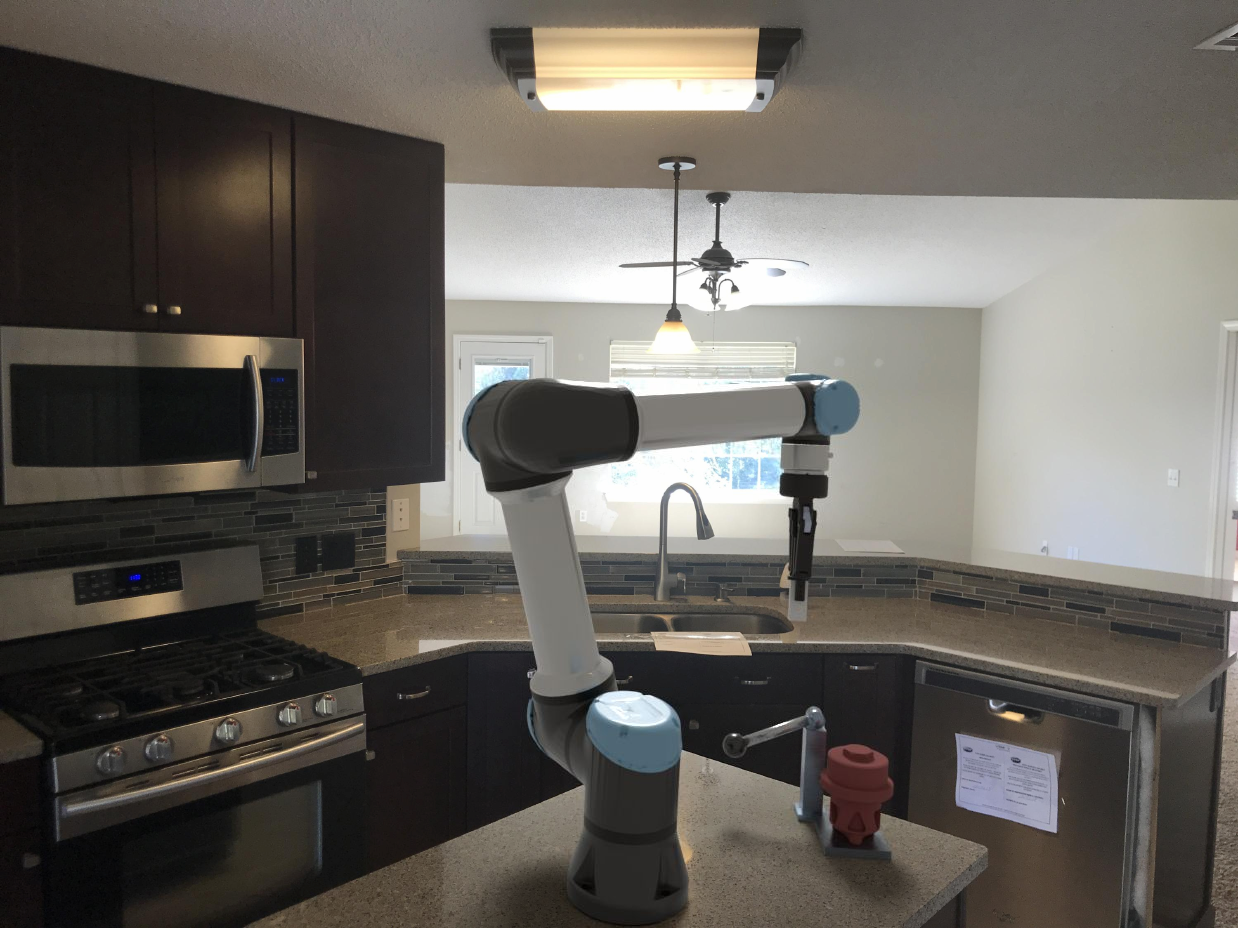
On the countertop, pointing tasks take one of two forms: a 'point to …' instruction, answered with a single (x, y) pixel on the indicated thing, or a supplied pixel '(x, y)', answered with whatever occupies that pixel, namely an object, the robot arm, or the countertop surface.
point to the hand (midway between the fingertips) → (797, 619)
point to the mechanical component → (856, 789)
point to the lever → (772, 732)
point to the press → (815, 811)
